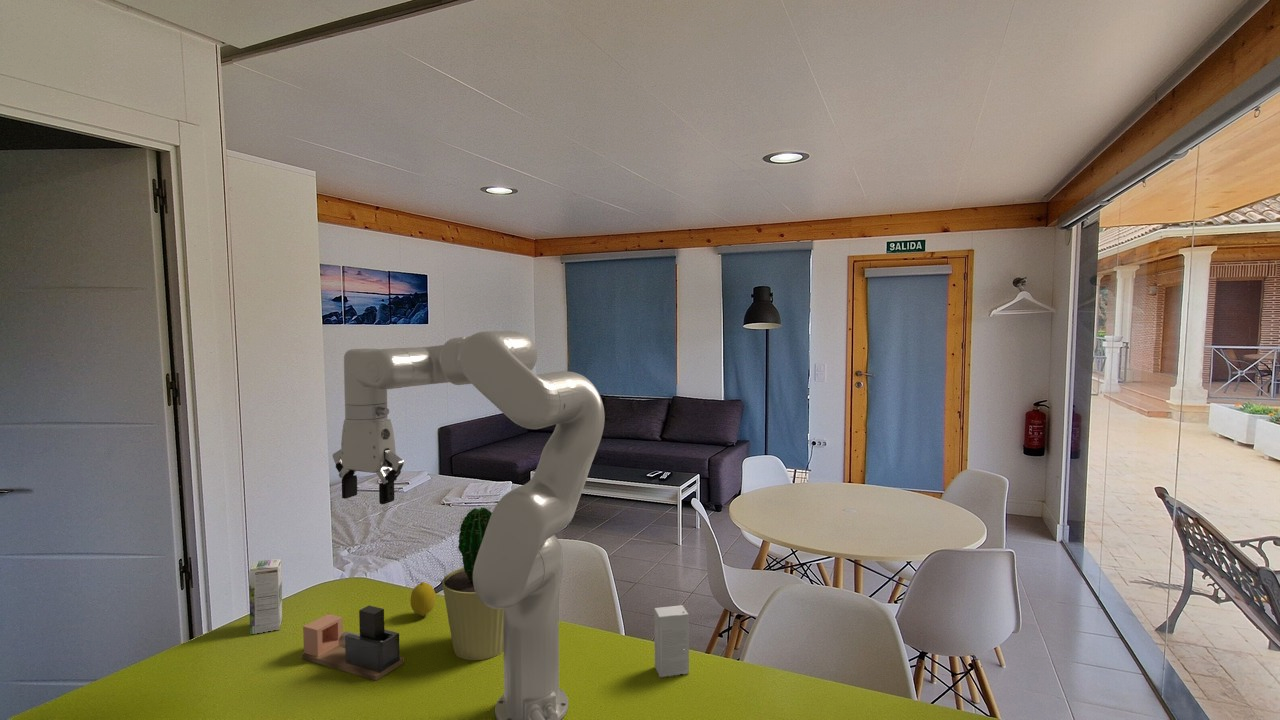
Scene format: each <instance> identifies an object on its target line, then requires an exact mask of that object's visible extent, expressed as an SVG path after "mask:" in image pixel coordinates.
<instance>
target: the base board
mask: <svg viewBox="0 0 1280 720" xmlns="http://www.w3.org/2000/svg"><path fill="white" fill-rule="evenodd" d="M301 659H302V660H304V661H305V660H306V661H307V662H312V663H316V664H319V665H322V666H325V667H329V668H332V669H335V670H338V671H342V672H345V673H349V674H352V675H355V676H358V677H362V678H366V679H368V680H372V681H378V680H380V679H381V678H383V677H384V676H386V675H387V674H388V673H390V672H392V671H394V670H395V669H396V668H398V667H399V666H400V665H403V664H404V657H403V656H400V660H399V661H398V662H396V663H395V664H393V665H392V666H390V667H389V668H387V669H386V670H384V671H382V672H381V673H378V672H375V671H372V670H368V669H365V668H361V667H358V666H354V665H351V664H347V663H346V656H345V648H342V647H340V646H339V645H338V646H337V647H335V648H333V649H331V650H329V651H328V652H326V653H324V654H322V655H321V656H319V657H317V656H313V655H310V654H306V653H304V652H302V653H301Z"/></svg>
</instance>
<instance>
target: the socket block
mask: <svg viewBox="0 0 1280 720" xmlns="http://www.w3.org/2000/svg"><path fill="white" fill-rule="evenodd" d="M343 630H344V629H343V617H342V616H339V615H335V614H332V613H331V614H330V613H328V614H325V615H323V616H320V617H318V618H317V619H316V620H313V621H311V622H308V623H307V624H304V625H303V626H302V632H303V633H302V634H303V653H306V654H310V655H313V656H317V657H319V656H321V655H322V654H324V653H326V652H328V651H329V650H331V649H333V648H335V647H337V646H338V645H339V643H338V642H339V638H340V636H341V635H342V634H343V633H344V632H343Z"/></svg>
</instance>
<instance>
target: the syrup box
mask: <svg viewBox="0 0 1280 720" xmlns="http://www.w3.org/2000/svg"><path fill="white" fill-rule="evenodd" d="M282 570H283V569H282V559H280V558H272V559H271V558H270V559H262V560H258V561H253V562H252V565H251V567H250V569H249V573H248V575H249V576H248V577H249V579H248V580H249V581H248V582H249V584H248V585H249V587H248V588H249V589H248V590H249V597H248V598H249V635H250V636H253V635H252V634H254V635H258V634H257V633H260V634H264V633H263V632H265V633H269V632H268V631H271V632H274V631H273V630H276V631H279V630H280V629H281V626H280V625H281V624H282V620H283V580H282V579H283V577H282Z"/></svg>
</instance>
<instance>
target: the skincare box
mask: <svg viewBox="0 0 1280 720" xmlns="http://www.w3.org/2000/svg"><path fill="white" fill-rule="evenodd" d="M653 611H654V612H653V615H654V616H653V617H654V618H653V619H654V620H653V621H654V622H653V623H654V625H653V626H654V667H655V669H656V672H657V675H658V677H659V678H667V676H668V677H675V676H681V675H680V674H683V675H687V674H688V673H689V674H690V655H689V654H690V636H689V635H690V628H689V624H690V622H689V613H688V611H687V610H686V608H685V607H684V605H683V604H681V605H673V606H670V605H669V606H660V607H654V608H653ZM683 649H685V650H683ZM689 674H688V675H689ZM674 675H675V676H674Z"/></svg>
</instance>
